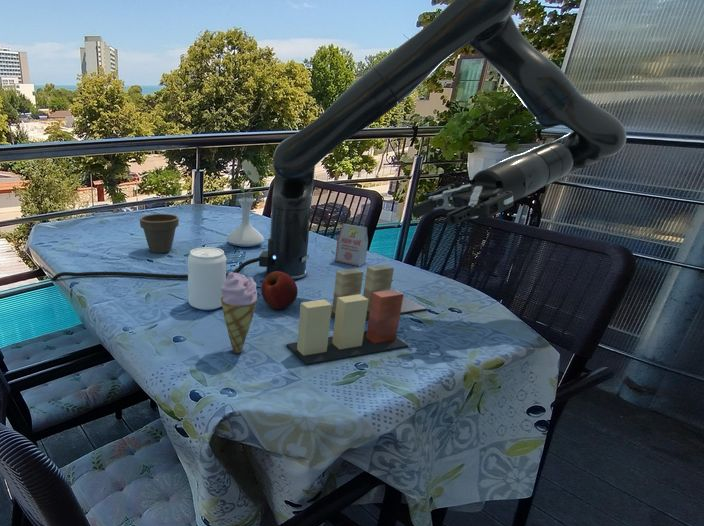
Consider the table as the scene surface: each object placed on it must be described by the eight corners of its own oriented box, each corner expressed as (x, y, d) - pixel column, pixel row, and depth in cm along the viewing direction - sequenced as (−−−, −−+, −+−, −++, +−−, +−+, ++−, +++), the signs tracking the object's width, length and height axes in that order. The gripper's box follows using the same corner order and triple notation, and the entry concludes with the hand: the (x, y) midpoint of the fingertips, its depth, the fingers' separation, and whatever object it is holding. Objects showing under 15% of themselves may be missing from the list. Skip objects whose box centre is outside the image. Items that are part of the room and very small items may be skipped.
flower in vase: (266, 249, 138) (270, 162, 128) (228, 250, 138) (229, 163, 129) (259, 237, 150) (263, 157, 140) (224, 238, 150) (225, 158, 141)
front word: (306, 365, 78) (310, 314, 74) (286, 345, 84) (289, 298, 80) (407, 347, 82) (417, 298, 79) (382, 330, 88) (389, 284, 85)
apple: (253, 303, 102) (254, 269, 98) (282, 297, 104) (285, 263, 101) (272, 316, 95) (274, 280, 92) (303, 309, 98) (306, 274, 95)
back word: (341, 323, 92) (346, 278, 88) (322, 309, 98) (326, 267, 94) (426, 310, 96) (435, 267, 92) (403, 297, 102) (410, 256, 99)
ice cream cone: (217, 342, 86) (217, 265, 80) (250, 340, 86) (253, 263, 80) (223, 360, 80) (224, 279, 74) (259, 358, 80) (263, 276, 74)
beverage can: (229, 299, 104) (230, 247, 100) (220, 313, 97) (221, 259, 93) (194, 295, 107) (194, 245, 102) (183, 309, 100) (182, 256, 95)
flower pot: (157, 242, 148) (156, 211, 144) (186, 248, 142) (186, 215, 138) (133, 252, 139) (131, 219, 135) (163, 258, 133) (162, 223, 129)
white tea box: (341, 257, 129) (345, 222, 125) (365, 262, 124) (370, 226, 120) (335, 260, 127) (338, 224, 123) (358, 266, 122) (363, 229, 118)
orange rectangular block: (374, 343, 83) (381, 297, 79) (365, 337, 85) (372, 292, 82) (395, 339, 84) (403, 294, 80) (386, 334, 86) (394, 289, 83)
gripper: (474, 158, 88) (400, 192, 87) (545, 162, 75) (458, 202, 74) (479, 195, 91) (406, 228, 90) (548, 205, 78) (464, 244, 77)
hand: (430, 216), depth 82 cm, fingers open, 8 cm apart
